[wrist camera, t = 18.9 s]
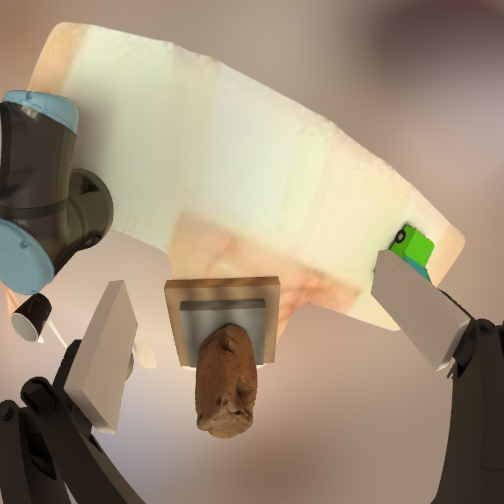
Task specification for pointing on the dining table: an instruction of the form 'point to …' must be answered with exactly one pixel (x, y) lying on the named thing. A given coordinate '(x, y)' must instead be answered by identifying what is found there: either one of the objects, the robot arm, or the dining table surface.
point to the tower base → (222, 294)
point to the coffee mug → (31, 317)
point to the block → (226, 383)
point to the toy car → (413, 249)
